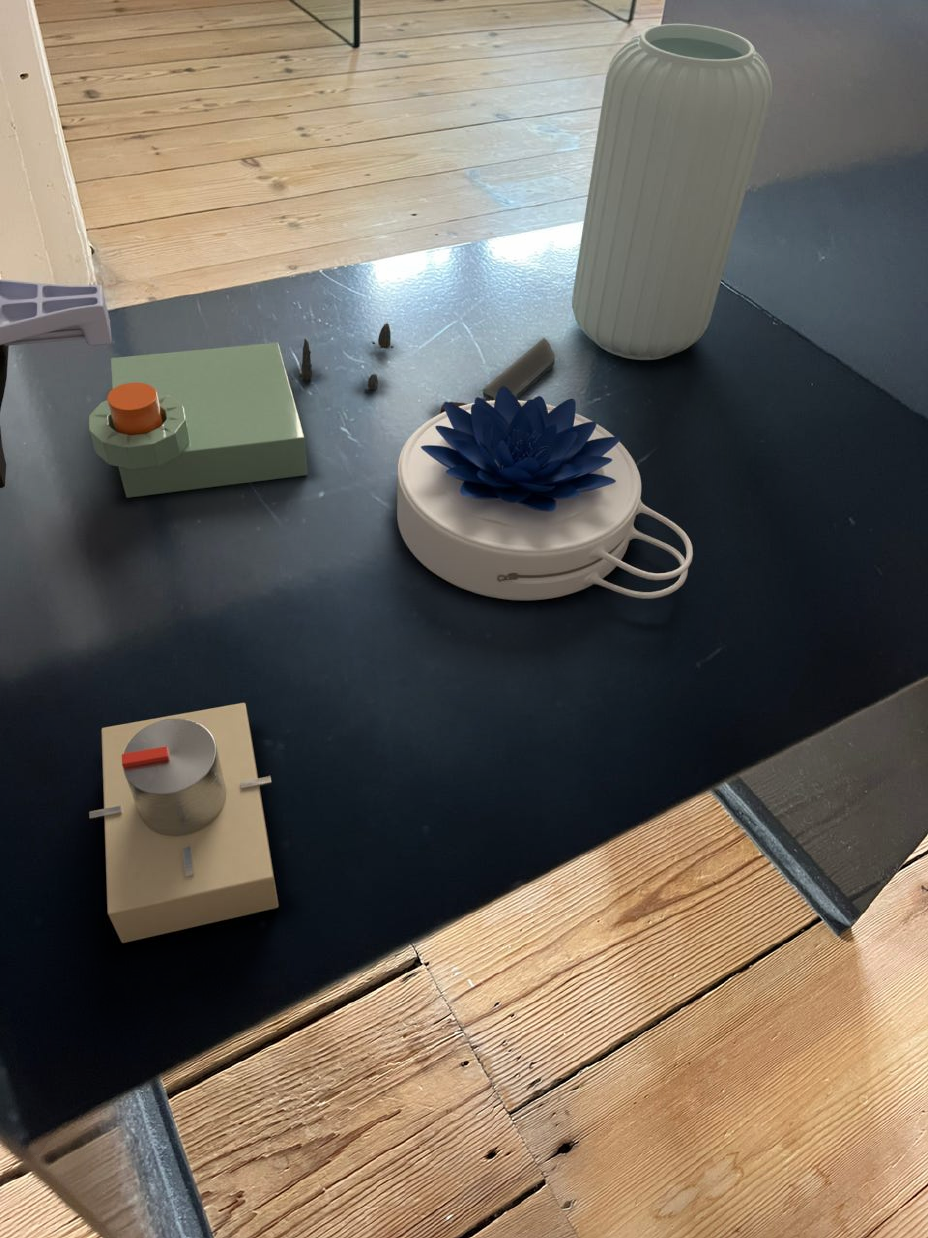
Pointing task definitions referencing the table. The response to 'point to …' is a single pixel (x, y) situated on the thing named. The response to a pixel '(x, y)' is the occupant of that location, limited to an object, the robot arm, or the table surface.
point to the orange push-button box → (206, 421)
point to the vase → (667, 186)
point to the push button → (135, 408)
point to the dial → (175, 776)
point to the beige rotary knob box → (187, 841)
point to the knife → (521, 372)
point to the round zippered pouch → (523, 501)
